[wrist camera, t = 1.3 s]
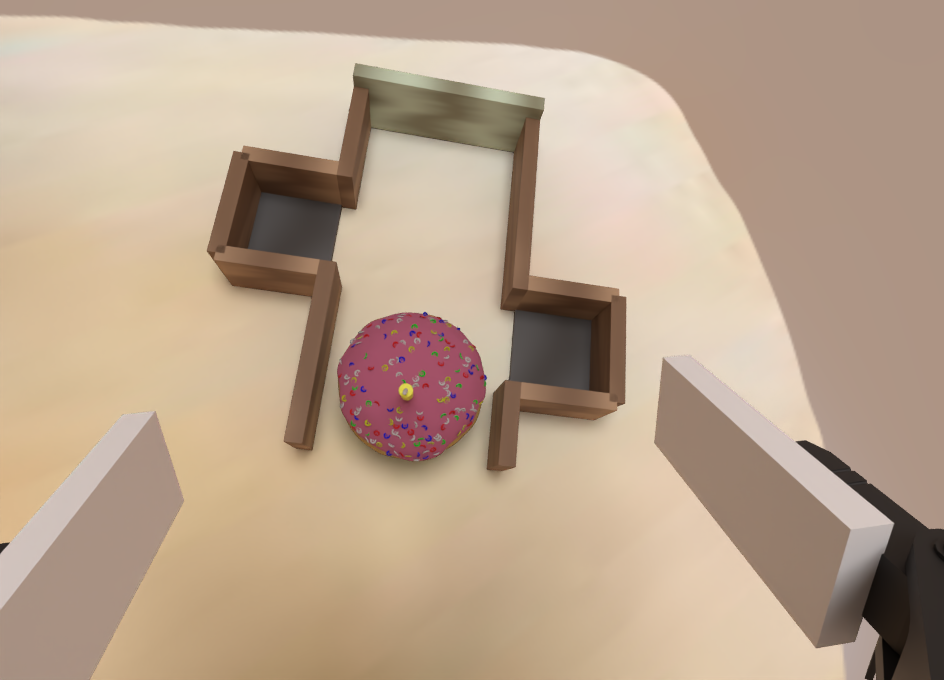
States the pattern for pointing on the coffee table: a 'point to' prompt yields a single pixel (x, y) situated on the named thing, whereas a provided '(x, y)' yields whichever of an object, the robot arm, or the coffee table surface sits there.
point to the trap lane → (337, 185)
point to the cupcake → (411, 385)
